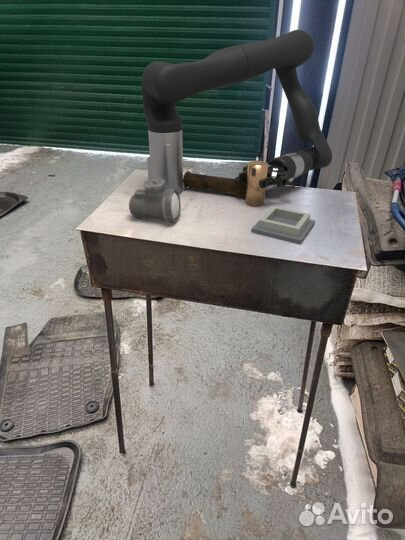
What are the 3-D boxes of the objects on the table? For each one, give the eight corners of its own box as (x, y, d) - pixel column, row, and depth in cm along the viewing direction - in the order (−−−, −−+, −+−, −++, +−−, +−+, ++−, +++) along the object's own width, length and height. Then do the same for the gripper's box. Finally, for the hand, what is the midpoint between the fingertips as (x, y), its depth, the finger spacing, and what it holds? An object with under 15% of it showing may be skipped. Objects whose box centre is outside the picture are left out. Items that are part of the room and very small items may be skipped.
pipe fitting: (184, 212, 98) (178, 174, 92) (175, 228, 92) (168, 189, 86) (141, 212, 101) (133, 175, 95) (130, 227, 95) (120, 189, 89)
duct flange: (251, 232, 90) (252, 220, 89) (268, 214, 99) (270, 203, 98) (300, 244, 85) (302, 232, 84) (314, 224, 94) (316, 213, 93)
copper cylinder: (241, 204, 104) (244, 164, 98) (249, 198, 108) (252, 159, 102) (259, 208, 102) (263, 168, 96) (266, 201, 106) (271, 162, 100)
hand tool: (181, 190, 113) (180, 172, 109) (188, 183, 116) (187, 165, 112) (256, 204, 106) (257, 185, 102) (260, 196, 109) (262, 178, 105)
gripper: (267, 150, 113) (230, 160, 103) (309, 160, 105) (274, 173, 94) (264, 174, 117) (228, 187, 107) (305, 187, 109) (271, 202, 98)
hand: (250, 180), depth 100 cm, fingers open, 6 cm apart
